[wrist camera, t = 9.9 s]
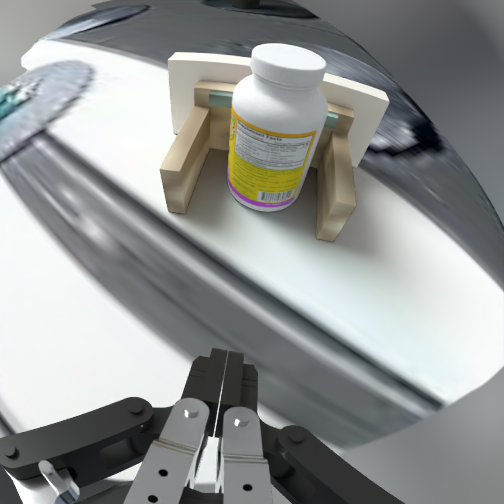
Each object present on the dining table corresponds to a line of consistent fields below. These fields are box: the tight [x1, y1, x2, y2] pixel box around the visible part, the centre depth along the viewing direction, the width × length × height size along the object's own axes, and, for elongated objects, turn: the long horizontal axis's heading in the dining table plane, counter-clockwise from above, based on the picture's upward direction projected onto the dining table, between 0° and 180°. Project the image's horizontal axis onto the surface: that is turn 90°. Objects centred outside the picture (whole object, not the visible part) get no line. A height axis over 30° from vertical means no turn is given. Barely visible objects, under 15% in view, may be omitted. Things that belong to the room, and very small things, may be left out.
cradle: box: [160, 80, 356, 242], centre depth 23 cm, size 14×10×7 cm
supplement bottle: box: [227, 44, 328, 212], centre depth 20 cm, size 7×7×13 cm
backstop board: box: [168, 52, 389, 168], centre depth 25 cm, size 20×2×9 cm, turn 81°
